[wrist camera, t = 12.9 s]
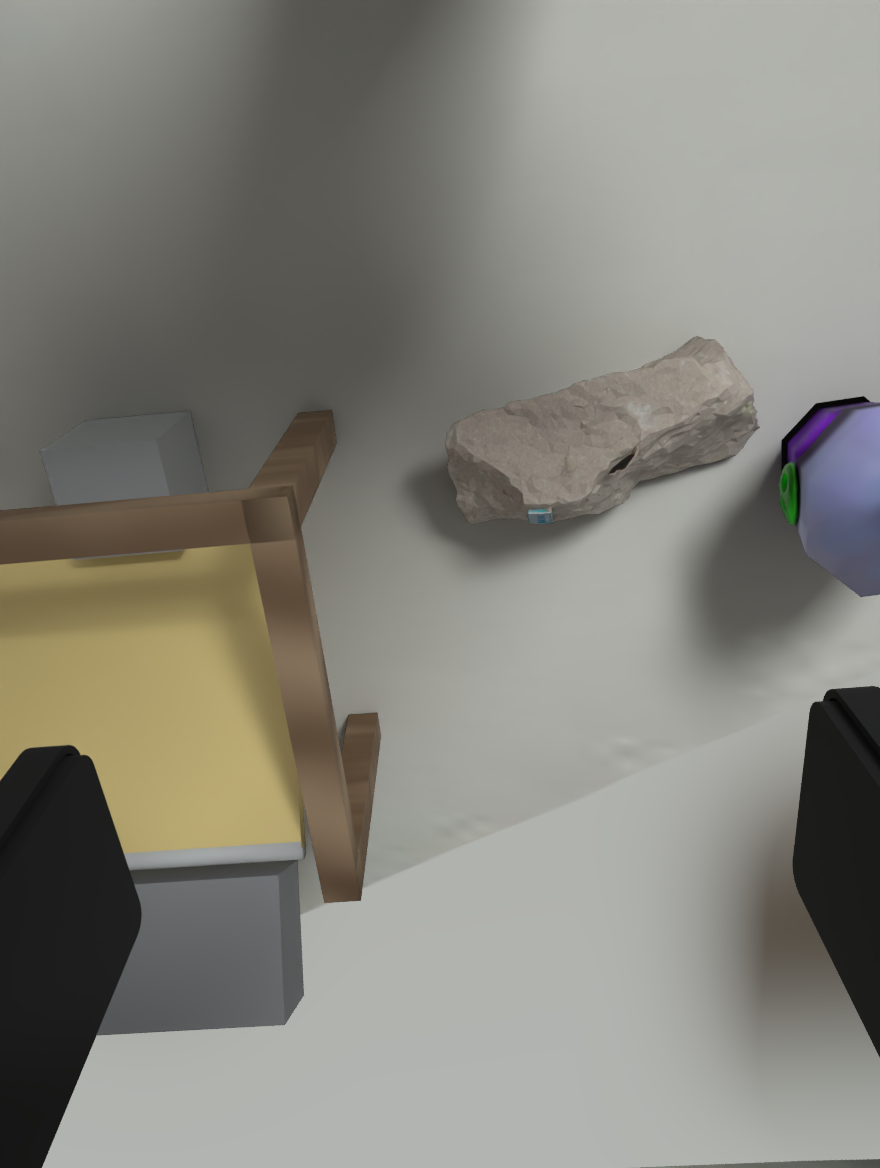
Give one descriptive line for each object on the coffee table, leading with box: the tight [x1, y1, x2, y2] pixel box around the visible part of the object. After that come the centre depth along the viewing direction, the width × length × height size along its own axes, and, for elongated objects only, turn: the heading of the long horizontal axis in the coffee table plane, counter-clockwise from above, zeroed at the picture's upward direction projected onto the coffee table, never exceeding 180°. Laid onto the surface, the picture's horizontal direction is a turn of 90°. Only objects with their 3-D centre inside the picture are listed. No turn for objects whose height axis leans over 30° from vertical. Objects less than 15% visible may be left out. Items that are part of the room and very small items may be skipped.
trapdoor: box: [0, 544, 306, 1035], centre depth 39 cm, size 21×14×4 cm
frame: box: [0, 410, 381, 903], centre depth 38 cm, size 19×19×12 cm
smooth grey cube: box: [40, 411, 208, 560], centre depth 38 cm, size 5×5×5 cm
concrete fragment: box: [445, 337, 760, 524], centre depth 37 cm, size 7×14×6 cm, turn 102°
